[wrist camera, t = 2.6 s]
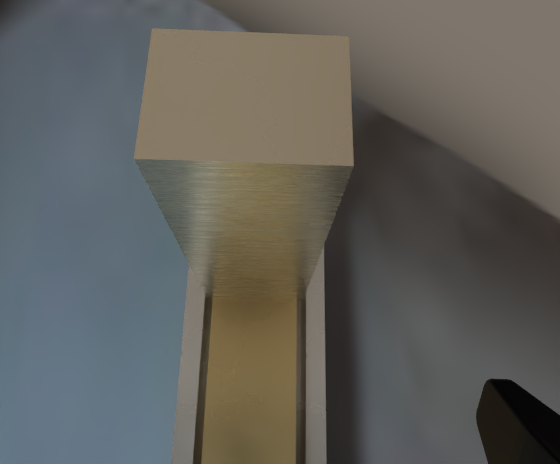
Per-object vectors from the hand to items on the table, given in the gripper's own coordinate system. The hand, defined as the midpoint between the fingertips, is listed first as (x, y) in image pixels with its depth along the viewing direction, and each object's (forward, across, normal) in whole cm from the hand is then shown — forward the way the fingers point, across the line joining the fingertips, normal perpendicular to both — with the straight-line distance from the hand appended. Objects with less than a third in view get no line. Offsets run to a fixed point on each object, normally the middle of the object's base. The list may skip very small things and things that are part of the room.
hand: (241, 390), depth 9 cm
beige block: (+7, 0, +8) cm, 11 cm away
